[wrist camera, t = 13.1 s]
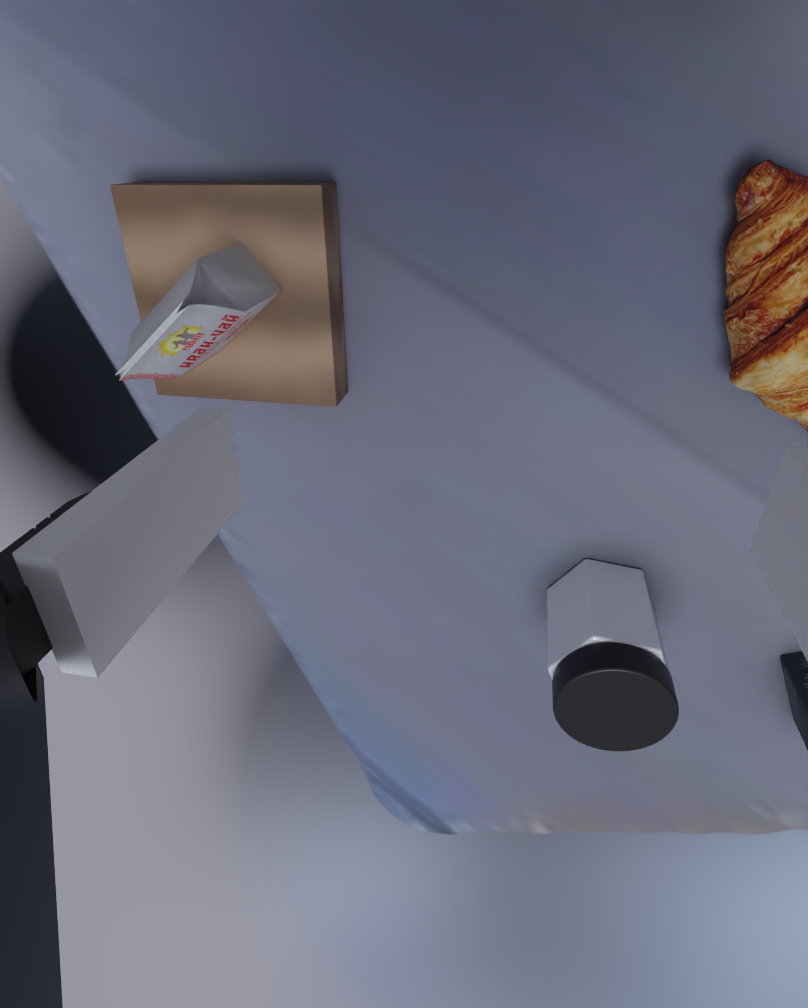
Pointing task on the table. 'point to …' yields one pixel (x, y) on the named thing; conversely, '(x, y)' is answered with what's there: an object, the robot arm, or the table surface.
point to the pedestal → (284, 256)
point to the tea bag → (199, 315)
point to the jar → (608, 659)
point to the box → (797, 689)
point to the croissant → (770, 289)
